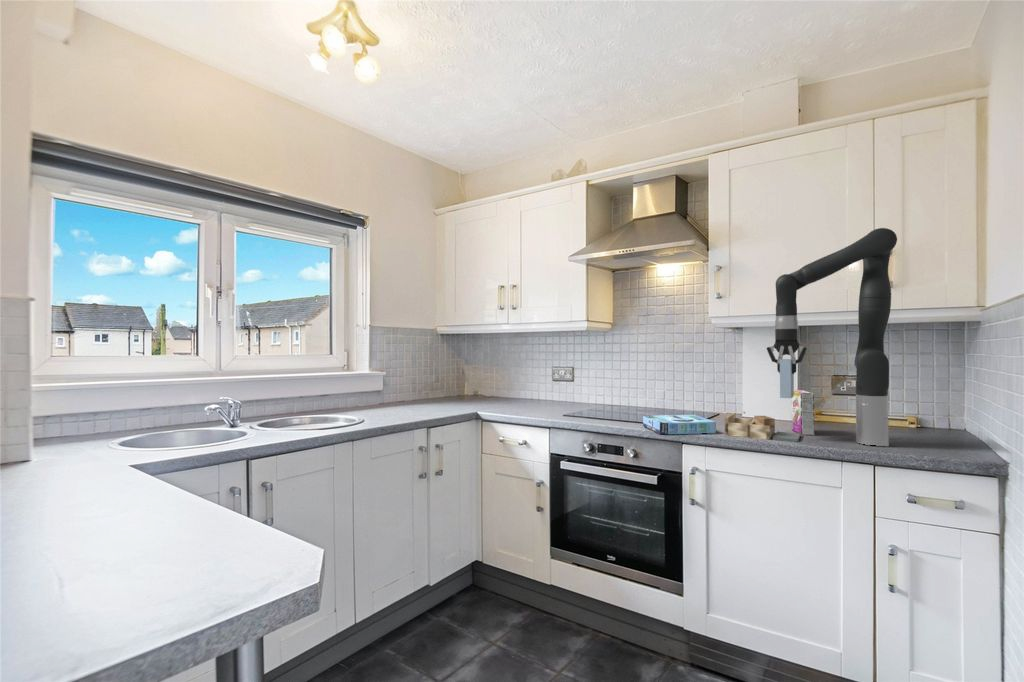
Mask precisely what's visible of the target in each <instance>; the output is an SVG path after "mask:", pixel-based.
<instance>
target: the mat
mask: <svg viewBox="0 0 1024 682" xmlns="http://www.w3.org/2000/svg"><path fill="white" fill-rule="evenodd" d="M801 437H802V435H801V433H797V432H789V431H788V432H787V431H777V432H775V434H774V435H773V436H772V440H773V441H780V442H781V441H782V442H793V443H798V442H799V440H800V439H801Z"/></svg>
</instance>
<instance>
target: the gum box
mask: <svg viewBox="0 0 1024 682" xmlns="http://www.w3.org/2000/svg"><path fill="white" fill-rule="evenodd" d="M716 424H717V422H716V421H715V420H711V419H708V418H705V417H702V416H700V415H697V414H668V415H666V414H665V415H664V414H663V415H660V414H659V415H643V417H642V427H643V426H645V427H644V428H646V427H647V428H646V429H648V428H649V430H650V431H652V432H655V433H657V434H658V435H695V434H697V435H698V434H700V435H702V433H707V434H716V433H717V432H716V431H717V427H716V426H717V425H716Z"/></svg>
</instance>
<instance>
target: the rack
mask: <svg viewBox="0 0 1024 682" xmlns="http://www.w3.org/2000/svg"><path fill="white" fill-rule="evenodd" d="M775 431H776V427H775V428H770V426H765V425H754V418H743V417H737V414H736V412H731V413H730V414H728V415H727V416H725V417H724V436H725V435H728V436H727V437H734V436H740V437H739V438H745V437H749V438H748V439H756V438H758V439H759V440H768V441H770V440H771V439H772V438H773V436H774V435H775V434H776V432H775ZM758 439H757V440H758Z"/></svg>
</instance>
